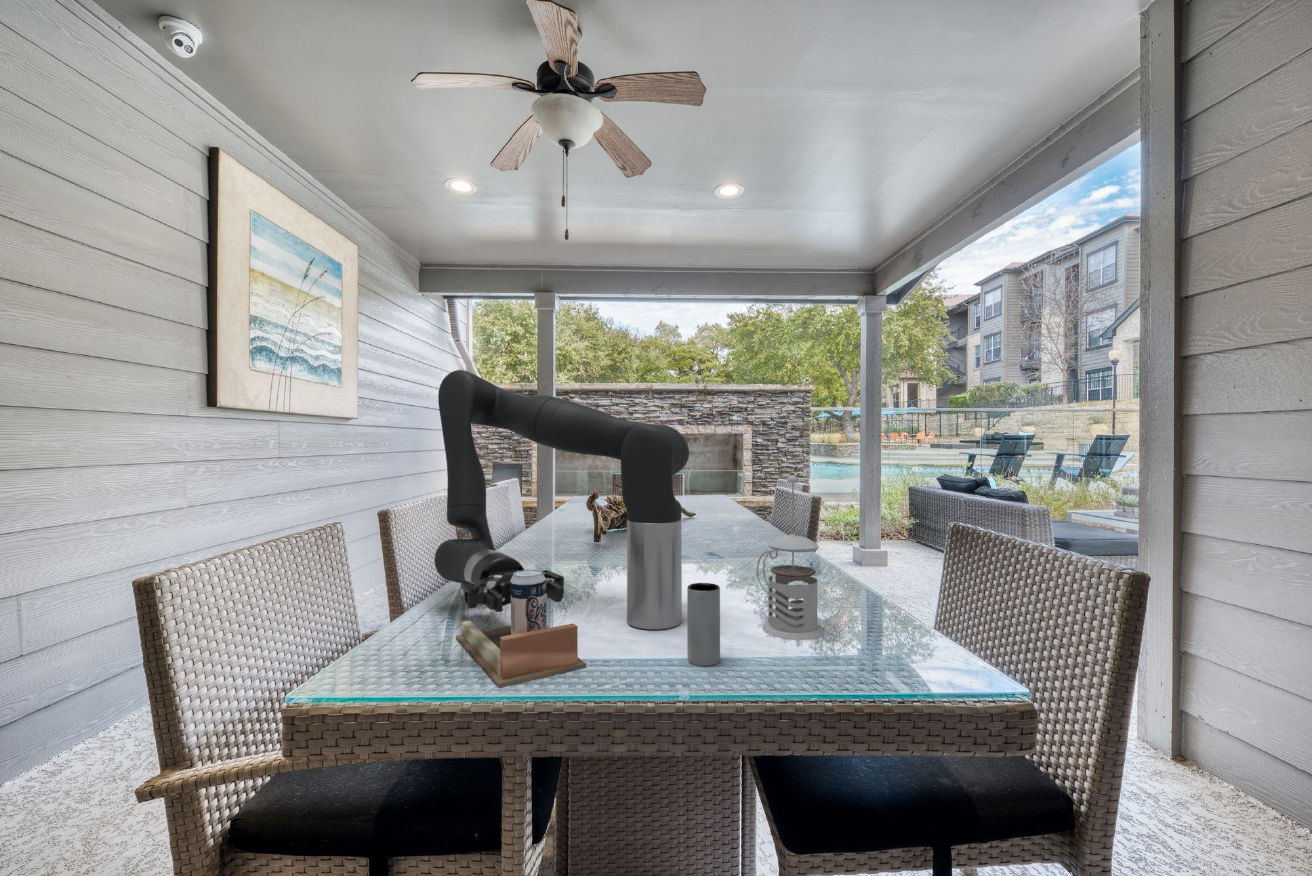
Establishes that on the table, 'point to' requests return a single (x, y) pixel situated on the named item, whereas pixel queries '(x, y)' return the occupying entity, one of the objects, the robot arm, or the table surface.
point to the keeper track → (522, 652)
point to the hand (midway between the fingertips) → (530, 599)
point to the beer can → (528, 601)
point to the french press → (792, 589)
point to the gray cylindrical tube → (703, 624)
